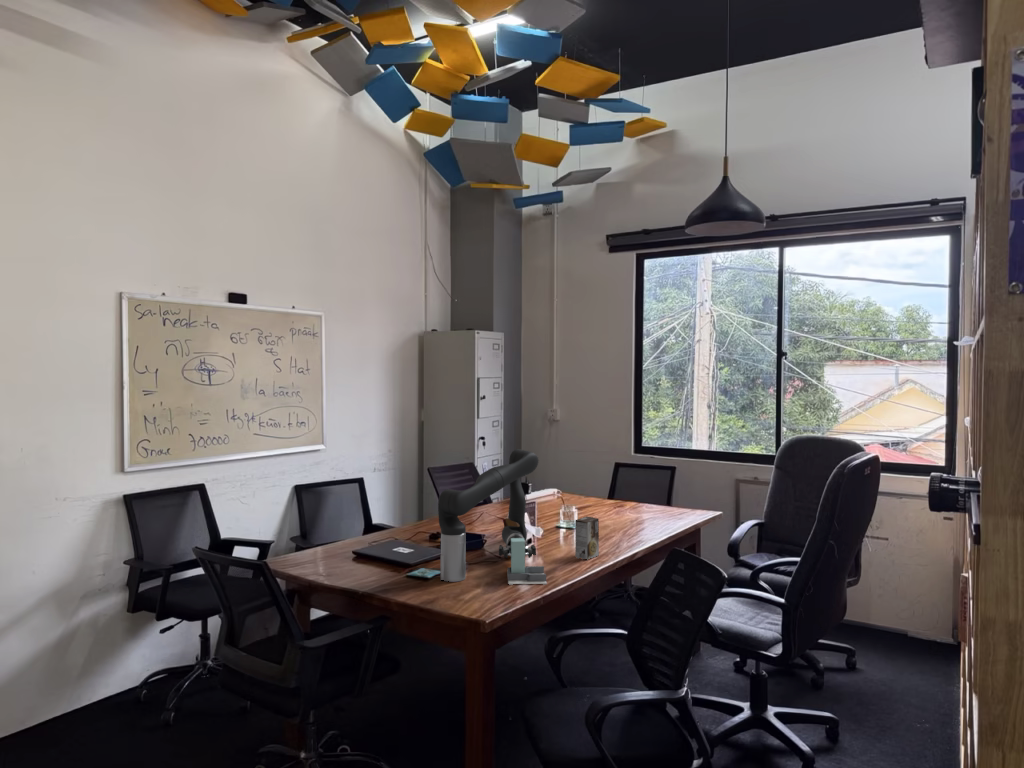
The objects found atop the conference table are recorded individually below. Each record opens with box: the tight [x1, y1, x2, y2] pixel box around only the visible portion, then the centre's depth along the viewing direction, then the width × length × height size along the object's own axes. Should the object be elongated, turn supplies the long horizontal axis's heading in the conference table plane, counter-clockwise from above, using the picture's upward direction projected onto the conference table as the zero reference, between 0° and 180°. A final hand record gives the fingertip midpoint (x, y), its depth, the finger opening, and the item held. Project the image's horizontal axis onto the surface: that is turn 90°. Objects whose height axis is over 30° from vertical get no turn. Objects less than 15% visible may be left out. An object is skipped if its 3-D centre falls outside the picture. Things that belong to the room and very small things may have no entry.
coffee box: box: [574, 516, 600, 561], centre depth 279 cm, size 9×6×16 cm
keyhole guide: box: [506, 565, 548, 586], centre depth 249 cm, size 14×15×3 cm
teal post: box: [510, 538, 526, 573], centre depth 248 cm, size 5×5×14 cm
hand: (518, 555), depth 247 cm, fingers open, 8 cm apart
